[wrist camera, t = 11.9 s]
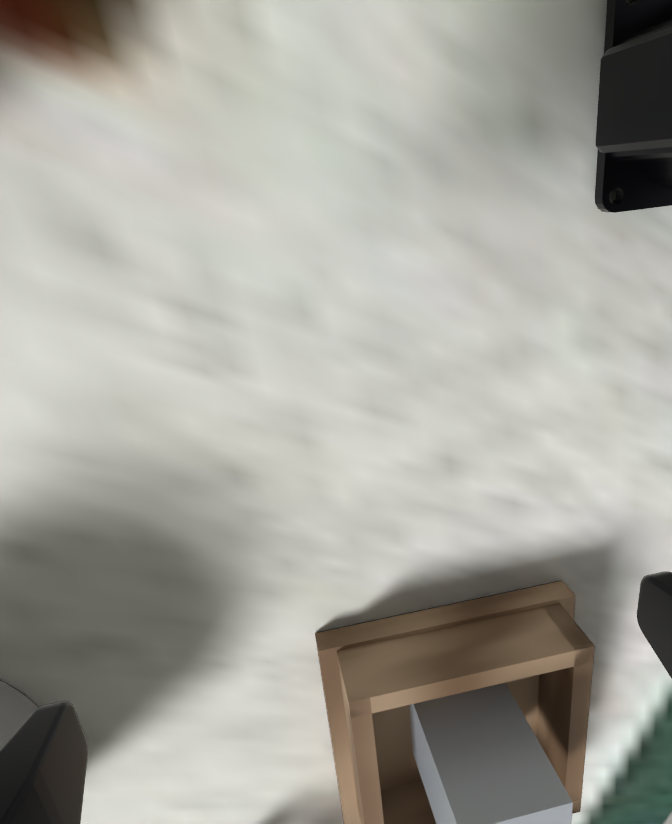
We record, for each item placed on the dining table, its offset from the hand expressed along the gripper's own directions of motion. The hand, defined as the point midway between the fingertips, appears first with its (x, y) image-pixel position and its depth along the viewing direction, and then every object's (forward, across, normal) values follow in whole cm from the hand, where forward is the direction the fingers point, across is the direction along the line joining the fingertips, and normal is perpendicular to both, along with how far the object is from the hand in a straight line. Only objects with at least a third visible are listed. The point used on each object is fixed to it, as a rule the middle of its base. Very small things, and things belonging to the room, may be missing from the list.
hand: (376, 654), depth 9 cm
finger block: (+11, -5, +15) cm, 20 cm away
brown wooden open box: (+12, -5, +18) cm, 22 cm away
